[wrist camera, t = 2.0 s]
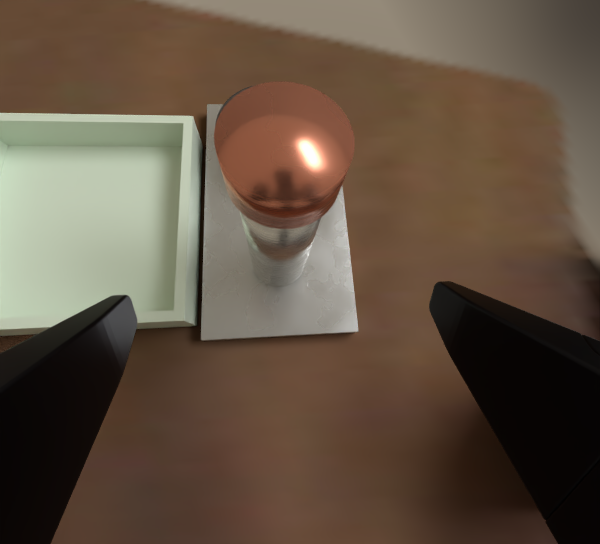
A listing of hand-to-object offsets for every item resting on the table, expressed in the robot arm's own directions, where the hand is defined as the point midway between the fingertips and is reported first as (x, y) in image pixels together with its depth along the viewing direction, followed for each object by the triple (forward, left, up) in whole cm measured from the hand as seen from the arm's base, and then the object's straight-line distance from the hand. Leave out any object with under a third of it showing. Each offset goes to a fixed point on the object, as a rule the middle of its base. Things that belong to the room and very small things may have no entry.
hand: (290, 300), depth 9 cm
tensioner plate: (+9, 0, -12) cm, 15 cm away
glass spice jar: (+5, 0, -11) cm, 12 cm away
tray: (+8, +12, -12) cm, 19 cm away
